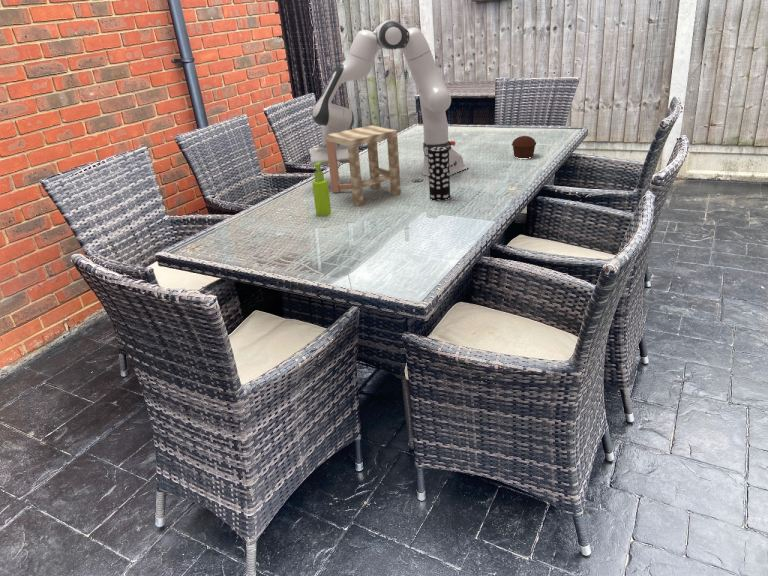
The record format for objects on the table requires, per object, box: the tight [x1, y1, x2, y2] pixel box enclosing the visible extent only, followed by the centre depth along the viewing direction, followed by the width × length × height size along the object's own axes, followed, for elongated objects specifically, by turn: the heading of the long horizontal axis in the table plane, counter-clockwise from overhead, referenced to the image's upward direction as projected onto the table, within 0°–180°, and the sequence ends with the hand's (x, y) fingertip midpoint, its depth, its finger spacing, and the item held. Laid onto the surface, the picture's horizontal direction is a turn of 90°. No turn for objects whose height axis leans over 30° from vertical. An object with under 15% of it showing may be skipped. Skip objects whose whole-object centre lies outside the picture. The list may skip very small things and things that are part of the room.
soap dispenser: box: [311, 162, 332, 217], centre depth 228 cm, size 6×7×20 cm
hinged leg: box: [326, 138, 352, 193], centre depth 250 cm, size 13×3×23 cm, turn 81°
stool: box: [327, 125, 402, 207], centre depth 242 cm, size 22×18×26 cm
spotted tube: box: [428, 146, 451, 201], centre depth 234 cm, size 8×8×20 cm
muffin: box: [511, 135, 537, 158], centre depth 284 cm, size 12×11×10 cm
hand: (334, 171), depth 255 cm, fingers closed
